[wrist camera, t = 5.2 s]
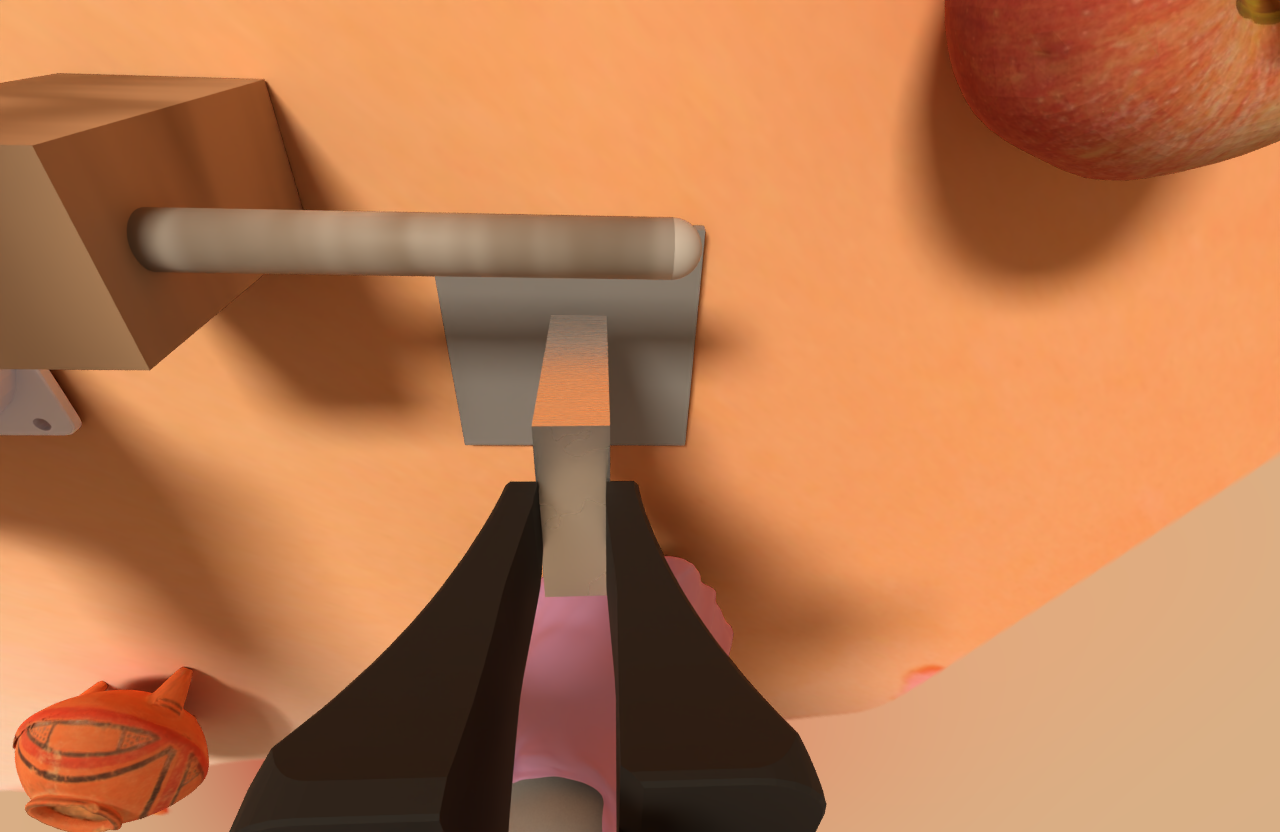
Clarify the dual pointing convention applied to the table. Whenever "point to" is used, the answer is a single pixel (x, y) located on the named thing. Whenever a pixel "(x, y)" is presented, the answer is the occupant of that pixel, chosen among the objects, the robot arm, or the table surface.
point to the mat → (516, 339)
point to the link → (573, 455)
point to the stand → (223, 221)
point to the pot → (110, 756)
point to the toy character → (579, 710)
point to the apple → (1121, 80)
